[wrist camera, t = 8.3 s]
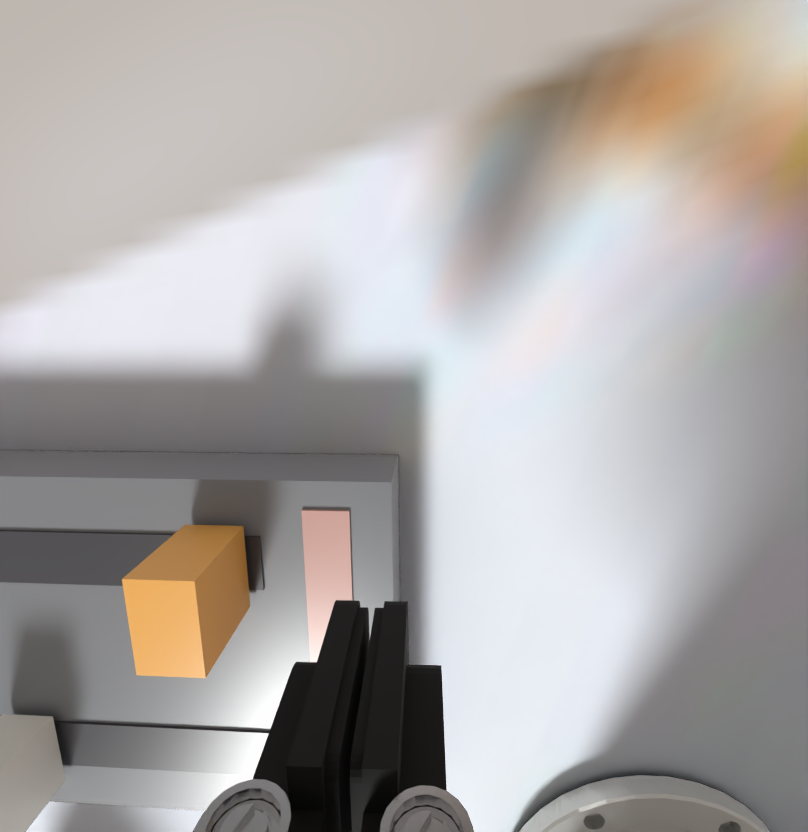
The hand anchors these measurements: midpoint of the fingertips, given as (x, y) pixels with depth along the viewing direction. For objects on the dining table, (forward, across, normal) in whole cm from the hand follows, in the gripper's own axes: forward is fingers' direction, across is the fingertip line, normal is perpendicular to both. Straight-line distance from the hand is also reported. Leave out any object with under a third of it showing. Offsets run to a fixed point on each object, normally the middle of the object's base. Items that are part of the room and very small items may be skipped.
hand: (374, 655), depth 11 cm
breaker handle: (+5, +6, +1) cm, 8 cm away
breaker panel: (+8, +10, +5) cm, 14 cm away
